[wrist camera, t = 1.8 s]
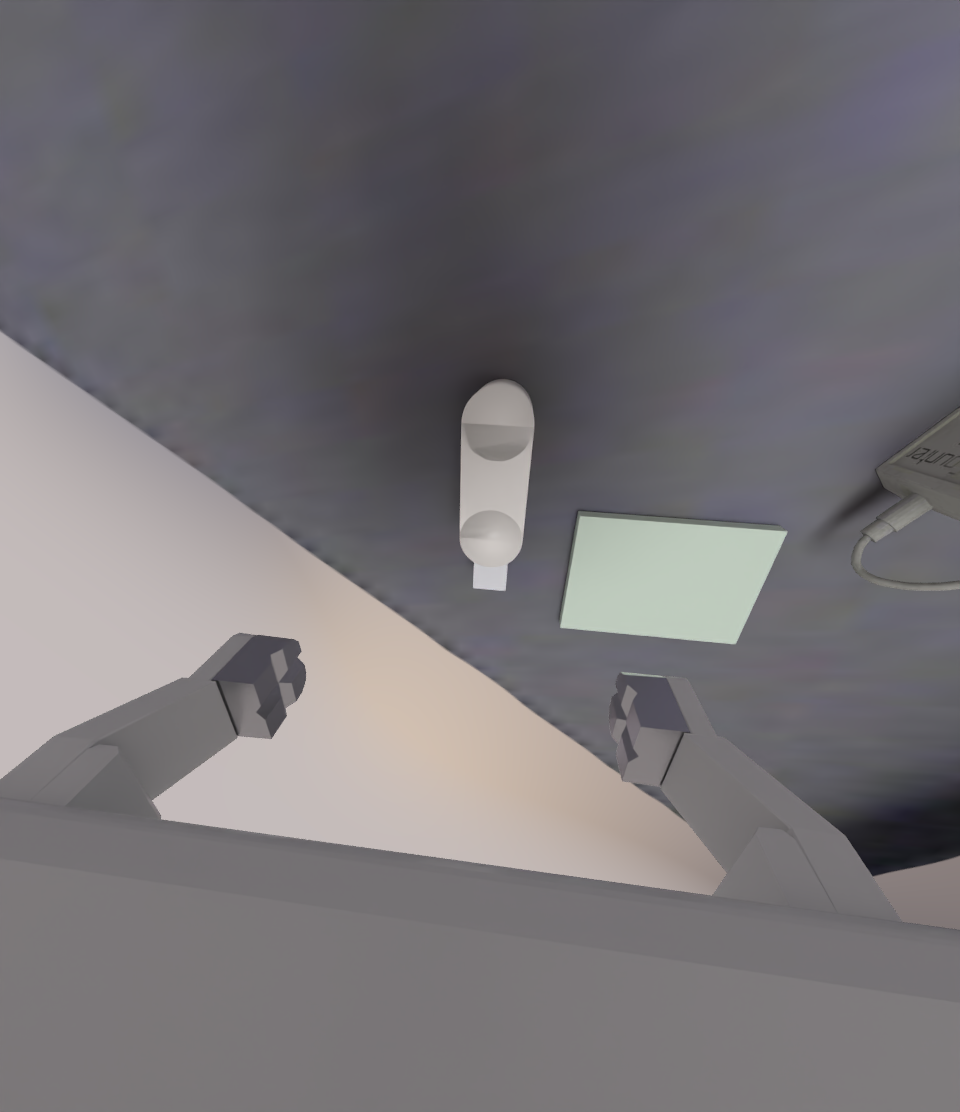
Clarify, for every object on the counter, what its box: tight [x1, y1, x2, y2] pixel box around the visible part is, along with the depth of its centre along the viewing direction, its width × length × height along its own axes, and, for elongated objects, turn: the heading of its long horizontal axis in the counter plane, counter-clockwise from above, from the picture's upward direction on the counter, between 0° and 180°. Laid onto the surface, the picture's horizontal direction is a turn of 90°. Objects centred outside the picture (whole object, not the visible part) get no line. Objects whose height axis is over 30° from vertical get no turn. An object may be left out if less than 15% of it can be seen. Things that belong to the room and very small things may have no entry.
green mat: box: [559, 511, 788, 644], centre depth 30 cm, size 10×14×1 cm
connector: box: [460, 379, 534, 591], centre depth 26 cm, size 14×4×5 cm, turn 178°
